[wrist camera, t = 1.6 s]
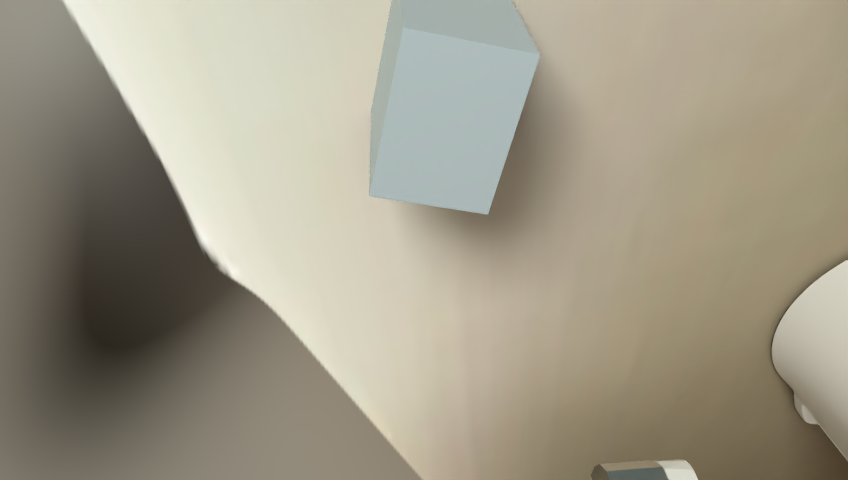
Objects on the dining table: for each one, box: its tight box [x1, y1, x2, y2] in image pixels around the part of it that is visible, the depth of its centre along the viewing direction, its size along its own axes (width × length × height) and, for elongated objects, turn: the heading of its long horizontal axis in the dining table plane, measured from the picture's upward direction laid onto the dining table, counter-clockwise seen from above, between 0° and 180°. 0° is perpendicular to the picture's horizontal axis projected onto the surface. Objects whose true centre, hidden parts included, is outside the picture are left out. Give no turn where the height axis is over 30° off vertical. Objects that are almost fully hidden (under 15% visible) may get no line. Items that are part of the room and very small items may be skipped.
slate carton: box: [369, 0, 540, 215], centre depth 29 cm, size 5×7×8 cm
